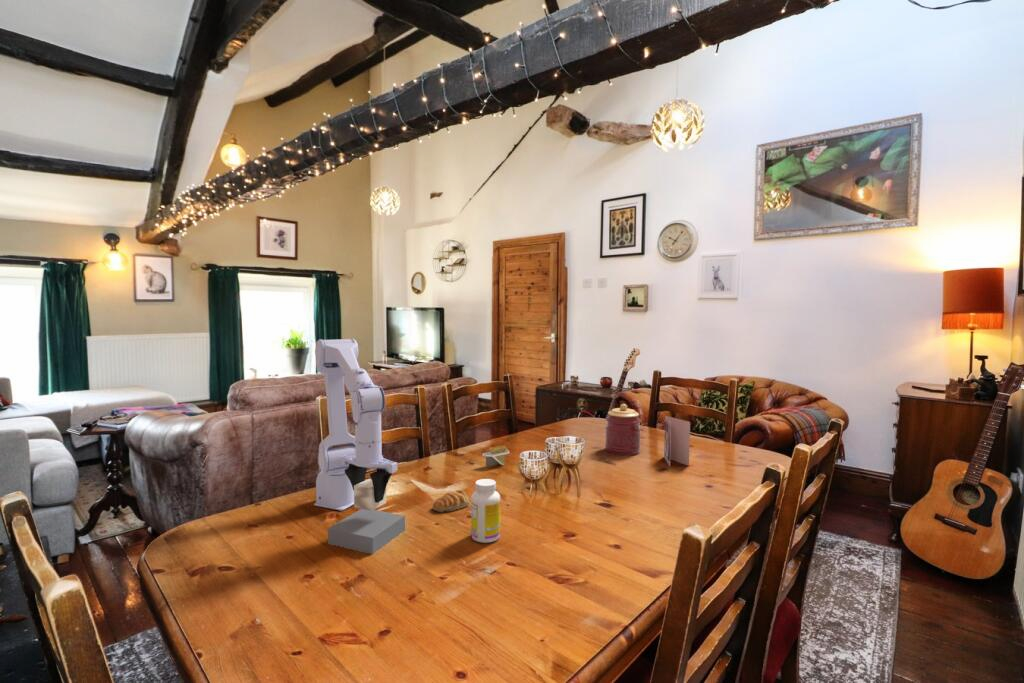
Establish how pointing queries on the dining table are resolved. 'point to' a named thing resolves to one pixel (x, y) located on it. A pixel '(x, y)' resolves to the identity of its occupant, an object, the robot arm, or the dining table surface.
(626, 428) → the canister
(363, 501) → the cream block
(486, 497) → the supplement bottle
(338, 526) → the gray panel
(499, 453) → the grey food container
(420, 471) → the dining table surface
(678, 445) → the greeting card
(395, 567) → the dining table surface
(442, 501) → the pastry
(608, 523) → the dining table surface
